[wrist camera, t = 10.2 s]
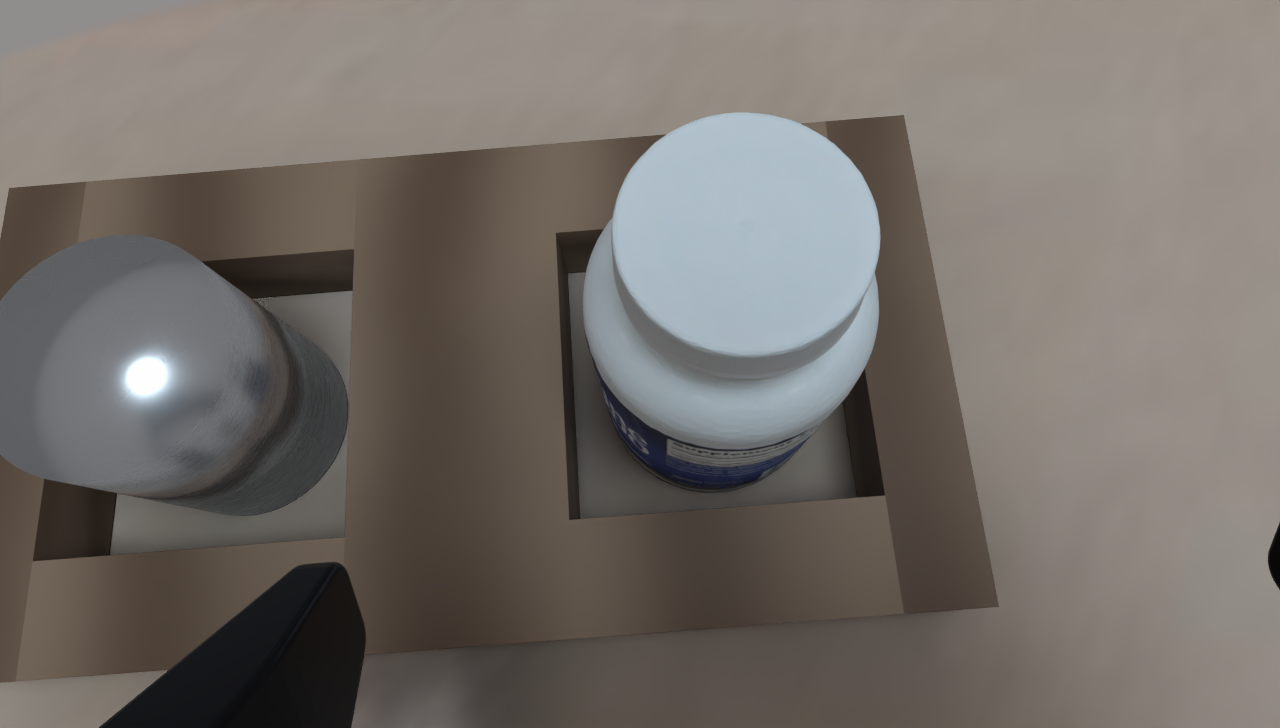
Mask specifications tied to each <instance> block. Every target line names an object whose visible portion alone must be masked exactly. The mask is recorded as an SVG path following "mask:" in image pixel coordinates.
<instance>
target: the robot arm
mask: <svg viewBox="0 0 1280 728" xmlns="http://www.w3.org/2000/svg"><path fill="white" fill-rule="evenodd" d="M1268 565H1269V570H1270V573H1271V575H1272V578H1273V580H1274V581H1275V583H1276V585H1277V586H1278V588H1279V590H1280V523H1279V526H1278V528H1277V531H1276V533H1275V536H1274V539H1273V541H1272V544H1271V547H1270V549H1269V553H1268ZM365 647H366V630H365V624H364V620H363V617H362V614H361V611H360V608H359V605H358V602H357V599H356V596H355V593H354V589H353V586H352V583H351V580H350V577H349V574H348V572H347V570H346V568H345V567H344V566H343V565H342V564H340V563H338V562H325V563H312V564H303V565H299V566H296V567H295V568H293V569H292V570H290V571H289V572H288V573H287V574H285V575H284V576H283V577H282V578H281V579H279V580H278V581H277V582H276V583H274V584H273V585H272V586H271V587H270V588H268V589H267V590H266V591H265V592H263V593H262V594H261V595H260V596H259V597H257V598H256V599H255V600H254V601H252V602H251V603H250V604H249V605H248V606H246V607H245V608H244V609H243V610H242V611H240V612H239V613H238V614H237V615H235V616H234V617H233V618H232V619H231V620H229V621H228V622H227V623H226V624H224V625H223V626H222V627H221V628H220V629H218V630H217V631H216V632H215V633H213V634H212V635H211V636H210V637H209V638H207V639H206V640H205V641H204V642H203V643H201V644H200V645H199V646H198V647H196V648H195V649H194V650H193V651H192V652H190V653H189V654H188V655H187V656H185V657H184V658H183V659H182V660H181V661H179V662H178V663H177V664H176V665H174V666H173V667H172V668H171V669H170V670H168V671H167V672H166V673H165V674H164V675H162V676H161V677H160V678H159V679H157V680H156V681H155V682H154V683H153V684H151V685H150V686H149V687H148V688H146V689H145V690H144V691H143V692H142V693H140V694H139V695H138V696H137V697H135V698H134V699H133V700H132V701H131V702H129V703H128V704H127V705H126V706H125V707H123V708H122V709H121V710H120V711H118V712H117V713H116V714H115V715H114V716H112V717H111V718H110V719H109V720H107V721H106V722H105V723H104V724H103V725H101V726H100V727H99V728H351V725H352V720H353V714H354V709H355V703H356V698H357V692H358V687H359V681H360V676H361V670H362V665H363V659H364V654H365Z"/></svg>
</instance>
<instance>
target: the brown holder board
mask: <svg viewBox="0 0 1280 728" xmlns="http://www.w3.org/2000/svg"><path fill="white" fill-rule="evenodd" d="M802 125H804V126H806V127H808V128H810V129H811V130H813V131H815V132H817V133H819V134H820V135H822V136H824V137H826V138H827V139H828V140H829V141H831V142H832V143H834V144H835V145H836V146H837V147H838V148H839V149H840V150H841V151H842V152H843V153H844V154H845V155H846V156H847V157H848V158H849V159H850V160H851V161H852V162H853V164H854V165H855V166H856V168H857V169H858V170H859V171H860V172H861V174H862V176H863V177H864V179H865V181H866V183H867V185H868V187H869V189H870V192H871V194H872V196H873V199H874V201H875V204H876V208H877V211H878V218H879V225H880V250H879V257H878V262H877V266H876V270H875V276H876V281H877V286H878V299H879V320H878V328H877V334H876V339H875V343H874V346H873V349H872V352H871V355H870V357H869V360H868V362H867V364H866V366H865V368H864V370H863V372H862V374H861V375H860V377H859V379H858V380H857V382H856V384H855V385H854V387H853V388H852V390H851V391H850V393H849V394H848V396H847V397H846V398H845V399H844V401H843V405H844V412H845V419H846V425H847V432H848V439H849V445H850V452H851V458H852V465H853V472H854V478H855V485H856V492H857V498H847V499H834V500H821V501H808V502H795V503H782V504H769V505H756V506H743V507H730V508H717V509H704V510H691V511H678V512H665V513H652V514H639V515H626V516H613V517H601V518H588V519H580V506H579V487H578V467H577V447H576V428H575V408H574V388H573V369H572V349H571V329H570V309H569V290H568V273H572V272H584V271H586V270H587V266H588V263H589V259H590V256H591V254H592V251H593V249H594V246H595V244H596V242H597V240H598V238H599V236H600V235H601V233H602V231H603V230H604V228H605V227H606V225H607V224H608V222H609V221H610V220H611V219H612V217H613V212H614V207H615V203H616V199H617V196H618V194H619V191H620V189H621V187H622V184H623V182H624V180H625V178H626V176H627V174H628V173H629V171H630V169H631V168H632V167H633V165H634V164H635V163H636V162H637V160H638V159H639V158H640V157H641V156H642V155H643V154H644V153H645V152H646V151H647V150H648V149H649V148H650V147H651V146H652V145H653V144H654V143H655V142H656V141H658V140H659V139H661V138H662V137H664V136H665V135H655V136H643V137H630V138H618V139H606V140H594V141H581V142H569V143H557V144H545V145H532V146H520V147H508V148H496V149H483V150H471V151H459V152H447V153H434V154H422V155H410V156H397V157H385V158H373V159H361V160H348V161H336V162H324V163H312V164H299V165H287V166H275V167H263V168H250V169H238V170H226V171H214V172H201V173H189V174H177V175H164V176H152V177H140V178H128V179H115V180H103V181H91V182H79V183H66V184H54V185H42V186H30V187H17V188H9V192H8V198H7V204H6V210H5V216H4V221H3V227H2V233H1V239H0V301H1V299H2V298H3V297H4V295H5V294H6V293H7V292H8V291H9V290H10V289H11V287H12V286H13V285H14V284H15V283H16V282H17V281H18V280H19V279H21V278H22V277H23V276H24V275H25V274H26V273H27V272H28V271H30V270H31V269H32V268H34V267H35V266H36V265H38V264H39V263H40V262H42V261H43V260H45V259H47V258H48V257H50V256H52V255H53V254H55V253H57V252H59V251H61V250H63V249H65V248H68V247H70V246H72V245H75V244H78V243H81V242H84V241H86V240H90V239H95V238H99V237H103V236H112V235H140V236H148V237H153V238H156V239H160V240H164V241H167V242H169V243H171V244H174V245H176V246H178V247H180V248H182V249H183V250H185V251H186V252H188V253H190V254H191V255H193V256H194V257H195V258H197V259H198V260H199V261H201V262H202V263H203V264H205V265H206V266H208V267H209V268H210V269H212V270H213V271H214V272H216V273H217V274H219V275H220V276H221V277H223V278H224V279H225V280H227V281H228V282H229V283H231V284H232V285H234V286H235V287H236V288H238V289H239V290H240V291H242V292H243V293H244V294H246V295H247V296H249V297H250V298H259V297H272V296H284V295H297V294H309V293H322V292H334V291H347V290H353V300H352V330H351V361H350V392H349V422H348V453H347V484H346V514H345V537H342V538H329V539H316V540H303V541H290V542H277V543H264V544H251V545H238V546H225V547H212V548H199V549H186V550H173V551H160V552H147V553H134V554H121V555H109V550H110V542H111V533H112V524H113V516H114V507H115V498H116V493H113V492H108V491H103V490H98V489H93V488H88V487H83V486H78V485H73V484H68V483H63V482H58V481H53V480H48V479H44V478H41V477H38V476H35V475H31V474H29V473H27V472H25V471H23V470H21V469H19V468H17V467H15V466H14V465H13V464H11V463H10V462H9V461H7V460H6V459H4V458H3V457H2V456H1V455H0V682H13V681H27V680H40V679H53V678H66V677H79V676H93V675H106V674H119V673H132V672H145V671H158V670H170V669H171V668H172V667H173V666H174V665H176V664H177V663H178V662H179V661H181V660H182V659H183V658H184V657H185V656H187V655H188V654H189V653H190V652H192V651H193V650H194V649H195V648H196V647H198V646H199V645H200V644H201V643H203V642H204V641H205V640H206V639H207V638H209V637H210V636H211V635H212V634H213V633H215V632H216V631H217V630H218V629H220V628H221V627H222V626H223V625H224V624H226V623H227V622H228V621H229V620H231V619H232V618H233V617H234V616H235V615H237V614H238V613H239V612H240V611H242V610H243V609H244V608H245V607H246V606H248V605H249V604H250V603H251V602H252V601H254V600H255V599H256V598H257V597H259V596H260V595H261V594H262V593H263V592H265V591H266V590H267V589H268V588H270V587H271V586H272V585H273V584H274V583H276V582H277V581H278V580H279V579H281V578H282V577H283V576H284V575H285V574H287V573H288V572H289V571H290V570H292V569H293V568H295V567H296V566H299V565H303V564H312V563H325V562H338V563H340V564H342V565H343V566H344V567H345V568H346V570H347V572H348V574H349V577H350V580H351V583H352V586H353V589H354V593H355V596H356V599H357V602H358V605H359V608H360V611H361V614H362V617H363V620H364V624H365V630H366V647H365V654H364V655H369V654H383V653H396V652H409V651H422V650H435V649H448V648H462V647H475V646H488V645H501V644H514V643H528V642H541V641H554V640H567V639H580V638H593V637H607V636H620V635H633V634H646V633H659V632H673V631H686V630H699V629H712V628H725V627H738V626H752V625H765V624H778V623H791V622H804V621H818V620H831V619H844V618H857V617H870V616H884V615H897V614H910V613H923V612H936V611H949V610H963V609H976V608H989V607H999V605H998V600H997V595H996V590H995V585H994V580H993V574H992V569H991V564H990V559H989V554H988V548H987V543H986V538H985V533H984V528H983V523H982V517H981V512H980V507H979V502H978V497H977V492H976V486H975V481H974V476H973V471H972V466H971V461H970V455H969V450H968V445H967V440H966V435H965V430H964V424H963V419H962V414H961V409H960V404H959V398H958V393H957V388H956V383H955V378H954V373H953V367H952V362H951V357H950V352H949V347H948V342H947V336H946V331H945V326H944V321H943V316H942V311H941V305H940V300H939V295H938V290H937V285H936V280H935V274H934V269H933V264H932V259H931V254H930V249H929V243H928V238H927V233H926V228H925V223H924V217H923V212H922V207H921V202H920V197H919V192H918V186H917V181H916V176H915V171H914V166H913V161H912V155H911V150H910V145H909V140H908V135H907V130H906V124H905V119H904V115H900V116H888V117H876V118H863V119H851V120H839V121H827V122H814V123H802Z"/></svg>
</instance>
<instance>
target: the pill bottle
mask: <svg viewBox="0 0 1280 728" xmlns="http://www.w3.org/2000/svg"><path fill="white" fill-rule="evenodd" d="M879 250H880V225H879V218H878V211H877V208H876V204H875V201H874V199H873V196H872V194H871V192H870V189H869V187H868V185H867V183H866V181H865V179H864V177H863V176H862V174H861V172H860V171H859V170H858V169H857V168H856V166H855V165H854V164H853V162H852V161H851V160H850V159H849V158H848V157H847V156H846V155H845V154H844V153H843V152H842V151H841V150H840V149H839V148H838V147H837V146H836V145H835V144H834V143H832V142H831V141H829V140H828V139H827V138H826V137H824V136H822V135H820V134H819V133H817V132H815V131H813V130H811V129H810V128H808V127H806V126H804V125H802V124H799V123H797V122H794V121H791V120H789V119H785V118H780V117H776V116H773V115H768V114H758V113H741V112H738V113H726V114H718V115H713V116H708V117H704V118H701V119H698V120H696V121H693V122H691V123H688V124H686V125H683V126H681V127H679V128H677V129H675V130H673V131H671V132H670V133H668V134H667V135H665V136H664V137H662V138H661V139H659V140H658V141H656V142H655V143H654V144H653V145H652V146H651V147H650V148H649V149H648V150H647V151H646V152H645V153H644V154H643V155H642V156H641V157H640V158H639V159H638V160H637V162H636V163H635V164H634V165H633V167H632V168H631V169H630V171H629V173H628V174H627V176H626V178H625V180H624V182H623V184H622V187H621V189H620V191H619V194H618V196H617V199H616V203H615V207H614V212H613V217H612V219H611V220H610V221H609V222H608V224H607V225H606V227H605V228H604V230H603V231H602V233H601V235H600V236H599V238H598V240H597V242H596V244H595V246H594V249H593V251H592V254H591V256H590V259H589V263H588V266H587V270H586V275H585V281H584V288H583V319H584V331H585V336H586V339H587V343H588V347H589V350H590V353H591V356H592V359H593V362H594V366H595V369H596V372H597V376H598V380H599V382H600V385H601V388H602V392H603V396H604V399H605V402H606V405H607V408H608V411H609V414H610V417H611V419H612V421H613V424H614V427H615V429H616V431H617V433H618V435H619V437H620V438H621V440H622V442H623V443H624V445H625V446H626V448H627V450H628V451H629V452H630V453H631V455H632V456H633V457H634V458H635V459H636V460H637V461H638V462H639V463H640V464H641V465H642V466H643V467H644V468H646V469H647V470H648V471H649V472H651V473H652V474H654V475H655V476H657V477H658V478H660V479H662V480H665V481H667V482H669V483H671V484H674V485H676V486H679V487H682V488H686V489H691V490H695V491H705V492H719V491H730V490H735V489H739V488H743V487H746V486H748V485H751V484H754V483H756V482H758V481H760V480H762V479H764V478H765V477H767V476H769V475H770V474H772V473H773V472H775V471H776V470H778V469H779V468H780V467H781V466H782V465H784V464H785V463H786V462H787V461H788V460H789V459H790V458H791V457H792V456H793V455H794V454H795V453H796V452H797V451H798V449H799V448H800V447H801V446H802V445H803V444H804V443H805V442H806V440H807V439H808V438H809V437H810V436H811V435H812V434H813V433H814V432H815V431H816V430H817V429H818V428H819V426H820V425H821V424H822V423H823V422H824V421H825V420H826V418H827V417H828V416H829V415H830V414H831V413H832V412H833V411H834V410H835V409H836V408H837V407H838V406H839V405H840V404H841V403H842V402H843V401H844V399H845V398H846V397H847V396H848V394H849V393H850V391H851V390H852V388H853V387H854V385H855V384H856V382H857V380H858V379H859V377H860V375H861V374H862V372H863V370H864V368H865V366H866V364H867V362H868V360H869V357H870V355H871V352H872V349H873V346H874V343H875V339H876V334H877V328H878V320H879V299H878V286H877V281H876V276H875V270H876V266H877V262H878V257H879Z"/></svg>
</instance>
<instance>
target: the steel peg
mask: <svg viewBox="0 0 1280 728" xmlns="http://www.w3.org/2000/svg"><path fill="white" fill-rule="evenodd" d="M347 419H348V402H347V394H346V390H345V386H344V383H343V380H342V378H341V376H340V374H339V371H338V370H337V368H336V367H335V365H334V363H333V362H332V361H331V360H330V358H329V357H328V356H327V355H326V354H325V353H324V352H323V351H322V350H320V349H319V348H318V347H317V346H316V345H314V344H313V343H311V342H310V341H309V340H307V339H306V338H305V337H303V336H302V335H301V334H299V333H298V332H296V331H295V330H294V329H292V328H291V327H290V326H288V325H287V324H285V323H284V322H283V321H281V320H280V319H279V318H277V317H276V316H275V315H273V314H272V313H270V312H269V311H268V310H266V309H265V308H264V307H262V306H261V305H260V304H258V303H257V302H255V301H254V300H253V299H251V298H250V297H249V296H247V295H246V294H244V293H243V292H242V291H240V290H239V289H238V288H236V287H235V286H234V285H232V284H231V283H229V282H228V281H227V280H225V279H224V278H223V277H221V276H220V275H219V274H217V273H216V272H214V271H213V270H212V269H210V268H209V267H208V266H206V265H205V264H203V263H202V262H201V261H199V260H198V259H197V258H195V257H194V256H193V255H191V254H190V253H188V252H186V251H185V250H183V249H182V248H180V247H178V246H176V245H174V244H171V243H169V242H167V241H164V240H160V239H156V238H153V237H148V236H140V235H112V236H103V237H99V238H95V239H90V240H86V241H84V242H81V243H78V244H75V245H72V246H70V247H68V248H65V249H63V250H61V251H59V252H57V253H55V254H53V255H52V256H50V257H48V258H47V259H45V260H43V261H42V262H40V263H39V264H38V265H36V266H35V267H34V268H32V269H31V270H30V271H28V272H27V273H26V274H25V275H24V276H23V277H22V278H21V279H19V280H18V281H17V282H16V283H15V284H14V285H13V286H12V287H11V289H10V290H9V291H8V292H7V293H6V294H5V295H4V297H3V298H2V299H1V301H0V455H1V456H2V457H3V458H4V459H6V460H7V461H9V462H10V463H11V464H13V465H14V466H15V467H17V468H19V469H21V470H23V471H25V472H27V473H29V474H31V475H35V476H38V477H41V478H44V479H48V480H53V481H58V482H63V483H68V484H73V485H78V486H83V487H88V488H93V489H98V490H103V491H108V492H113V493H118V494H124V495H129V496H134V497H139V498H144V499H149V500H154V501H159V502H164V503H169V504H174V505H179V506H184V507H189V508H194V509H199V510H204V511H209V512H214V513H219V514H225V515H231V516H248V515H257V514H261V513H265V512H270V511H272V510H275V509H278V508H280V507H283V506H285V505H287V504H288V503H290V502H292V501H294V500H296V499H297V498H299V497H300V496H301V495H303V494H304V493H306V492H307V491H308V490H309V489H310V488H311V487H313V486H314V485H315V484H316V483H317V482H318V481H319V480H320V478H321V477H322V476H323V475H324V474H325V473H326V471H327V470H328V468H329V467H330V466H331V464H332V463H333V461H334V459H335V457H336V455H337V453H338V451H339V449H340V447H341V444H342V442H343V438H344V435H345V431H346V426H347Z"/></svg>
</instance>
